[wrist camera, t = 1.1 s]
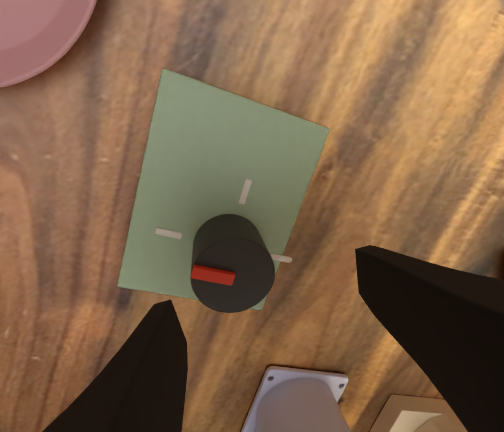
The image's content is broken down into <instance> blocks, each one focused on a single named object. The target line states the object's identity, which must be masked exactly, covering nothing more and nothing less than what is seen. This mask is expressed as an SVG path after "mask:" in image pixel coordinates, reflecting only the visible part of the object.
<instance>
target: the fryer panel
mask: <svg viewBox="0 0 504 432" xmlns="http://www.w3.org/2000/svg"><path fill="white" fill-rule="evenodd" d="M329 130H330V129H329V128H327V127H324V126H321V125H319V124H316V123H313V122H310V121H308V120H305V119H302V118H300V117H297V116H294V115H291V114H289V113H286V112H283V111H280V110H278V109H275V108H272V107H269V106H267V105H264V104H261V103H258V102H256V101H253V100H250V99H248V98H245V97H242V96H239V95H237V94H234V93H231V92H228V91H226V90H223V89H220V88H217V87H215V86H212V85H209V84H206V83H204V82H201V81H198V80H196V79H193V78H190V77H187V76H185V75H182V74H179V73H176V72H174V71H171V70H168V69H165V68H162V72H161V76H160V81H159V86H158V91H157V96H156V100H155V105H154V110H153V115H152V120H151V125H150V129H149V134H148V139H147V144H146V149H145V153H144V158H143V163H142V168H141V173H140V178H139V182H138V187H137V192H136V197H135V202H134V206H133V211H132V216H131V221H130V226H129V231H128V235H127V240H126V245H125V250H124V255H123V260H122V264H121V269H120V274H119V279H118V284H117V286H118V287H123V288H129V289H135V290H141V291H147V292H153V293H159V294H165V295H171V296H177V297H183V298H189V299H195V300H199V299H198V298H197V297H196V295H195V294H194V292H193V289H192V286H191V280H190V275H191V262H192V250H193V241H194V237H195V235H196V233H197V231H198V230H199V228H200V227H201V226H202V225H203V224H204V223H205V222H206V221H208V220H209V219H211V218H213V217H215V216H219V215H223V214H234V215H239V216H242V217H244V218H246V219H248V220H249V221H251V222H252V223H253V224H254V225H255V227H256V228H257V230H258V231H259V233H260V235H261V237H262V239H263V241H264V243H265V245H266V247H267V249H268V251H269V253H270V255H271V257H272V260H273V262H274V266H275V274H276V271H277V268H278V266H279V263H280V261H282V262H287V263H291V261H292V257H288V256H284V255H283V252H284V250H285V247H286V244H287V242H288V239H289V236H290V234H291V231H292V229H293V226H294V223H295V221H296V218H297V215H298V213H299V210H300V207H301V205H302V202H303V199H304V197H305V194H306V191H307V189H308V186H309V183H310V181H311V178H312V176H313V173H314V170H315V168H316V165H317V162H318V160H319V157H320V154H321V152H322V149H323V146H324V144H325V141H326V138H327V136H328V133H329ZM267 295H268V294H267ZM267 295H266V297H267ZM266 297H265V298H264V299H263V300H262V301H261V302H259V303H258V304H257V305H255V306H253V307H251V308H249V309H254V310H260V311H261V310H262V308H263V305H264V303H265V300H266Z"/></svg>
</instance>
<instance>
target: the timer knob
mask: <svg viewBox="0 0 504 432" xmlns="http://www.w3.org/2000/svg"><path fill="white" fill-rule="evenodd" d="M274 278H275V266H274V262H273V260H272V257H271V255H270V253H269V251H268V249H267V247H266V245H265V243H264V241H263V239H262V237H261V235H260V233H259V231H258V230H257V228H256V227H255V225H254V224H253V223H252V222H251V221H249V220H248V219H246V218H244V217H242V216H239V215H234V214H223V215H219V216H215V217H213V218H211V219H209V220H208V221H206V222H205V223H204V224H203V225H202V226H201V227H200V228H199V230H198V231H197V233H196V235H195V237H194V241H193V250H192V262H191V275H190V280H191V286H192V289H193V292H194V294H195V295H196V297H197V298H198V299H199V300H200V301H201V302H202V303H203V304H204V305H205V306H207V307H209V308H211V309H213V310H216V311H219V312H226V313H234V312H240V311H244V310H247V309H249V308H251V307H253V306H255V305H257V304H258V303H259V302H261V301H262V300H263V299H264V298H265V297H266V295H267V294H268V293H269V291H270V290H271V287H272V285H273V282H274Z"/></svg>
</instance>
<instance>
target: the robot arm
mask: <svg viewBox="0 0 504 432" xmlns="http://www.w3.org/2000/svg"><path fill="white" fill-rule="evenodd" d="M355 253H356V265H357V277H358V289H359V294H360V295H361V297H362V298H363V300H364V301H365V303H366V304H367V306H368V307H369V309H370V310H371V312H372V313H373V314H374V316H375V317H376V318H377V319H378V320H379V321H380V322H381V324H382V325H383V326H384V327H385V328H386V329H387V330H388V332H389V333H390V334H391V335H392V336H393V337H394V338H395V339H396V341H397V342H398V343H399V344H400V345H401V346H402V347H403V348H404V349H405V351H406V352H407V353H408V354H409V355H410V356H411V357H412V358H413V360H414V361H415V362H416V363H417V364H418V365H419V367H420V368H421V369H422V370H423V371H424V373H425V374H426V375H427V376H428V378H429V379H430V380H431V382H432V383H433V384H434V386H435V387H436V388H437V390H438V391H439V392H440V394H441V395H442V396H443V398H444V399H445V400H446V402H447V403H448V405H449V406H450V407H451V409H452V410H453V412H454V413H455V414H456V416H457V417H458V419H459V420H460V421H461V423H462V424H463V426H464V427H465V429H466V430H467V431H468V432H504V280H501V279H496V278H491V277H486V276H481V275H476V274H472V273H467V272H463V271H459V270H455V269H451V268H447V267H444V266H440V265H436V264H433V263H429V262H426V261H422V260H419V259H416V258H413V257H409V256H406V255H403V254H400V253H397V252H393V251H390V250H387V249H383V248H380V247H376V246H372V245H368V246H365V247H361V248H357V249H355ZM187 370H188V364H187V341H186V338H185V336H184V333H183V330H182V328H181V325H180V322H179V320H178V317H177V314H176V312H175V309H174V306H173V304H172V301H171V300H168V301H164V302H160V303H157V304H154V305H153V306H152V308H151V309H150V310H149V311H148V313H147V314H146V315H145V317H144V318H143V320H142V321H141V322H140V324H139V325H138V326H137V328H136V329H135V330H134V332H133V333H132V334H131V335H130V337H129V338H128V339H127V341H126V342H125V343H124V345H123V346H122V347H121V348H120V350H119V351H118V352H117V353H116V354H115V356H114V357H113V358H112V359H111V360H110V362H109V363H108V364H107V365H106V367H105V368H104V369H103V370H102V371H101V373H100V374H99V375H98V376H97V377H96V378H95V379H94V380H93V382H92V383H91V384H90V385H89V386H88V387H87V388H86V389H85V390H84V391H83V392H82V393H81V394H80V395H79V396H78V397H77V399H76V400H75V401H74V402H73V403H72V404H71V405H70V406H69V407H68V408H67V409H66V410H65V411H64V412H63V413H62V414H61V415H59V416H58V417H57V418H56V419H55V420H54V421H53V422H52V423H51V424H50V425H49V426H48V427H47V428H46V429H45V430H43V431H42V432H181V431H182V421H183V411H184V402H185V392H186V381H187ZM270 376H271V377H270ZM348 381H349V379H348V377H347V376H346V375H345V374H338V373H330V372H321V371H312V370H304V369H295V368H287V367H278V366H270V367H268V368H267V369H266V371H265V374H264V376H263V379H262V381H261V384H260V386H259V389H258V391H257V393H256V396H255V398H254V401H253V403H252V406H251V408H250V410H249V413H248V415H247V418H246V420H245V423H244V425H243V428H242V430H241V432H351V431H350V429H349V427H348V424H347V422H346V420H345V418H344V416H343V414H342V412H341V410H340V408H339V406H338V403H337V402H338V400H339V398H340V397H341V395H342V393H343V391H344V389H345V387H346V385H347V383H348Z"/></svg>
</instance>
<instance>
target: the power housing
mask: <svg viewBox="0 0 504 432" xmlns="http://www.w3.org/2000/svg"><path fill="white" fill-rule="evenodd" d="M369 432H468V431H467V430H466V429H465V427H464V426H463V424H462V423H461V421H460V420H459V419H458V417H457V416H456V414H455V413H454V412H453V410H452V409H451V407H450V406H449V405H448V403H447V402H446V400H444V399H434V398H424V397H414V396H404V395H394V394H391V395H390V397H389V399H388V400H387V402H386V404H385V406H384V407H383V409H382V411H381V412H380V414H379V416H378V418H377V419H376V421H375V423H374V425H373V426H372V428H371V430H370V431H369Z"/></svg>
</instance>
